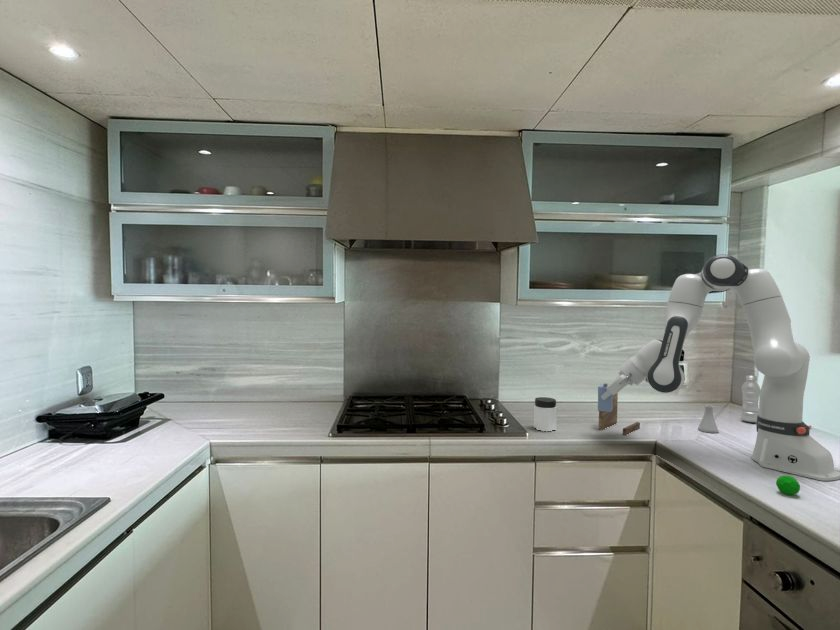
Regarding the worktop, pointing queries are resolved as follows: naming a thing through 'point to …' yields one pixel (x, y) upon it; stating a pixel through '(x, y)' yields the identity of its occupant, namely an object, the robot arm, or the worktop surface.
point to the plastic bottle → (750, 399)
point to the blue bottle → (604, 404)
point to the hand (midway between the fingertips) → (603, 397)
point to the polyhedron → (788, 485)
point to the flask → (708, 421)
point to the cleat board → (614, 419)
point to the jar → (545, 414)
